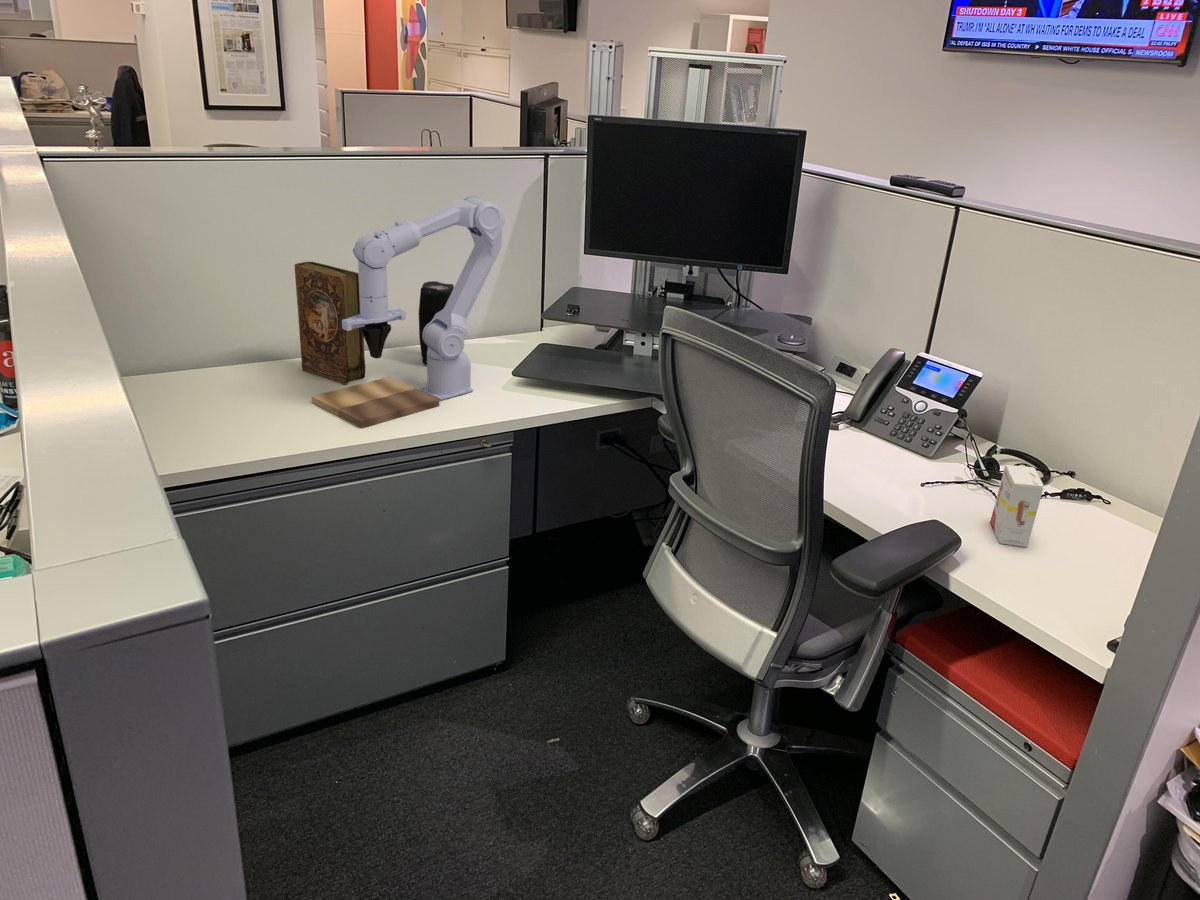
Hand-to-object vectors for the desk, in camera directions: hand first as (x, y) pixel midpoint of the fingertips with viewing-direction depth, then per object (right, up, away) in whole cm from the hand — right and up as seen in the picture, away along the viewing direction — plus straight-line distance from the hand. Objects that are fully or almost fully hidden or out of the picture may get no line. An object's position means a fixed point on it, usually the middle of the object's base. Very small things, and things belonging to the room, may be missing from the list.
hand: (375, 357), depth 195 cm
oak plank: (-4, -9, +6) cm, 11 cm away
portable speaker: (+8, +2, +31) cm, 32 cm away
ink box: (+120, -35, -34) cm, 130 cm away
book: (-15, -2, +18) cm, 24 cm away
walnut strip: (+3, -12, 0) cm, 12 cm away
